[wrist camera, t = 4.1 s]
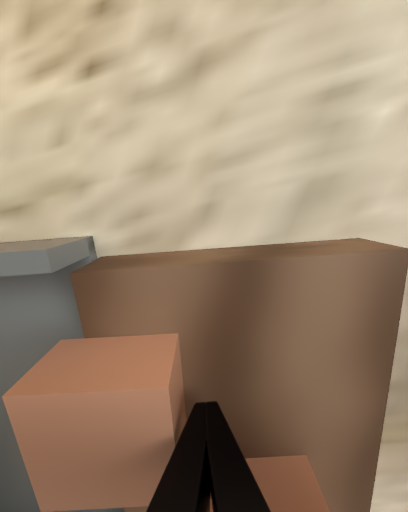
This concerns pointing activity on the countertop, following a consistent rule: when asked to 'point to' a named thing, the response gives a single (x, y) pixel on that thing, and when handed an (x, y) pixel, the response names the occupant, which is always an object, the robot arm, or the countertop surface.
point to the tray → (34, 337)
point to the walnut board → (271, 343)
